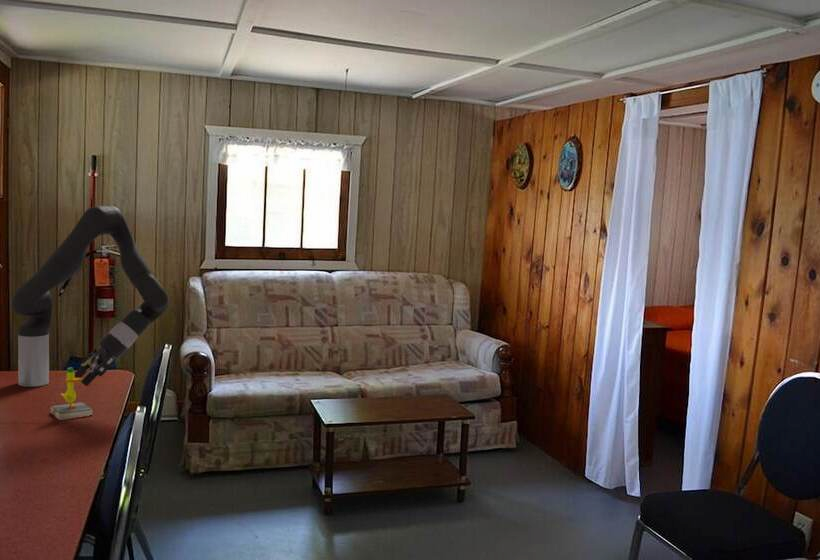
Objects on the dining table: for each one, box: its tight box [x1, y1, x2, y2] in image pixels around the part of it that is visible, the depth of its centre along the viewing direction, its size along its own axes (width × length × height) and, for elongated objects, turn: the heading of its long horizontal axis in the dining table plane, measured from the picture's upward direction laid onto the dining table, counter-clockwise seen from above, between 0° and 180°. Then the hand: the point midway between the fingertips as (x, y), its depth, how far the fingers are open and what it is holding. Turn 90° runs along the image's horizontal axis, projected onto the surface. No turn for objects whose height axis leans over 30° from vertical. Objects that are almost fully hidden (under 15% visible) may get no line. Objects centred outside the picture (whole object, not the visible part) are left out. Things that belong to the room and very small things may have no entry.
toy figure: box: [60, 366, 84, 408], centre depth 209 cm, size 7×4×12 cm, turn 113°
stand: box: [50, 401, 93, 421], centre depth 209 cm, size 9×9×2 cm
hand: (79, 381), depth 210 cm, fingers open, 8 cm apart
